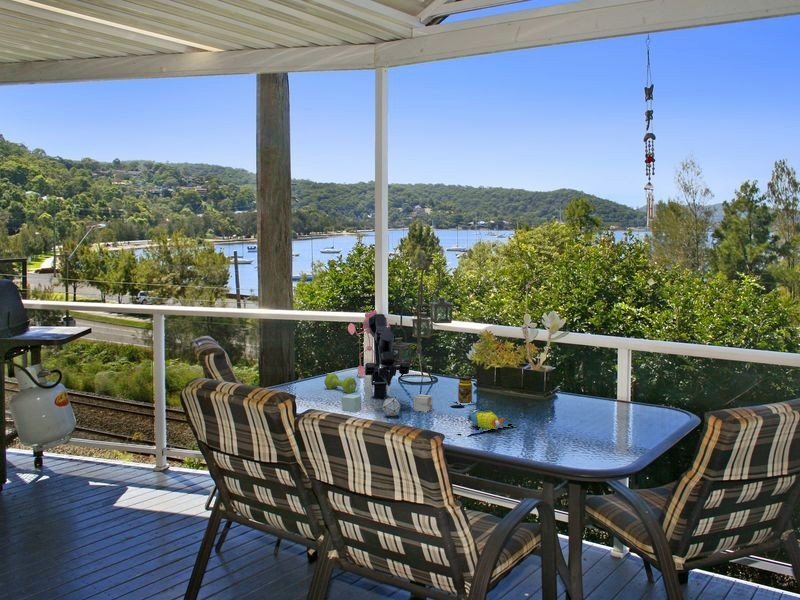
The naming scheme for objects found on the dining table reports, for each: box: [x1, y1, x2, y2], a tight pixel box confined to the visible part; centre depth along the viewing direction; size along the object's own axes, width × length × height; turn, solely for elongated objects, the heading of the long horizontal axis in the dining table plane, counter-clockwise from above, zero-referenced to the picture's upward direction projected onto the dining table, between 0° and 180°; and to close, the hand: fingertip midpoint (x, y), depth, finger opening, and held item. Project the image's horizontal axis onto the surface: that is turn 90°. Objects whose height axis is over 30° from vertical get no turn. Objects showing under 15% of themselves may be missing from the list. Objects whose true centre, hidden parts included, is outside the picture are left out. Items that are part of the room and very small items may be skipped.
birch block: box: [413, 394, 433, 413], centre depth 321 cm, size 6×6×6 cm
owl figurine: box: [467, 408, 505, 430], centre depth 290 cm, size 28×9×15 cm
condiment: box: [457, 375, 473, 403], centre depth 334 cm, size 7×8×12 cm
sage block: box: [341, 393, 362, 413], centre depth 320 cm, size 6×6×6 cm
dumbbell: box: [323, 373, 358, 394], centre depth 358 cm, size 16×8×7 cm, turn 46°
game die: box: [379, 396, 404, 419], centre depth 310 cm, size 9×8×10 cm
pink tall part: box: [347, 309, 391, 378], centre depth 389 cm, size 15×26×35 cm, turn 134°
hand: (389, 385), depth 314 cm, fingers closed
